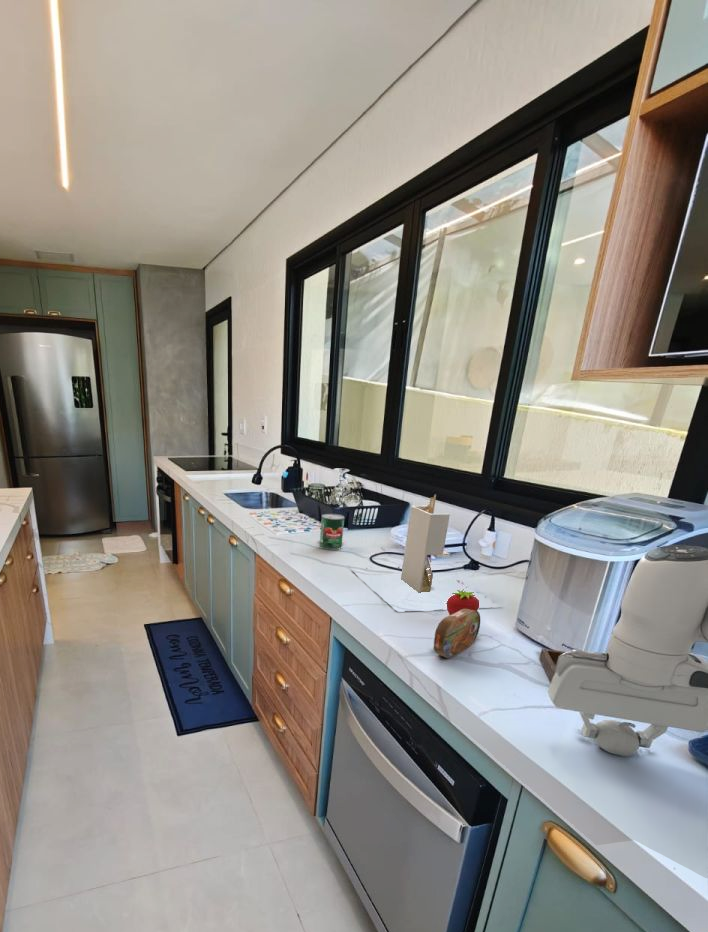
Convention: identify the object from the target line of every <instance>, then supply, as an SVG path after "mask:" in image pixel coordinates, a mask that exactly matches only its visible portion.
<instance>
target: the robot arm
mask: <svg viewBox="0 0 708 932" xmlns="http://www.w3.org/2000/svg"><path fill="white" fill-rule="evenodd" d="M620 603H621V604H620V610H621V613H620V616H619V619H618V621H617V623H616V624H615V625H614V626H613V628H612V630H611V634H610V636H609V639H608V640H609V641H608V643H607V647H606V650H605V652H596V651H584V650H582V649H571V650H570V651H564V652H565V653H563V654H562V655H560V656H559V657H558V660H557V664H556V668H555V669H556V673H555V675H554V677H553V679H552V681H551V683H550V684H549V686H548V689H547V694H548V698H549V700H550V702H551V703H552V704H553V705H554V707H555V708H557V709H560V710H565V711H566V710H568V711H573V712H578V713H579V715H580V717H581V721H582V722H583V723H582V727H581V734H582V737H583V738H588V739H593V740H594V739H595V738H596V734H597V733H598V729H597V727H596V725H595V724H596V723H593V722H591V721H590V720H594V719H595V715H597V716H602V717H608V718H614V719H620V720H627V721H631V722H632V721H633V722H638V723H644V724H649V726H648V727H647V728H645V729H644V730H643V731H640V730H636V731H635V732H636V733H637V735H638V740H639V748H645V749H650V748H651V745H652V743H653V741H655V740H656V739H657V738H659V737H660V736H662V735H663V734H665V733H666V732H667V731H668V728H675V729H679V730H686V731H691V732H692V731H693V732H697V733H705V732H707V731H708V660H706V659H705V658H704V657H702V656H700V655H698V654H696V653H693V652H691V651H692V648H693V646H694V645H695V644H696V643H707V644H708V548H706V547H702V546H697V545H686V544H670V545H662V546H657V547H655V548H652V549H649V550H648V551H647V552H646V553H644V554H643V555H642V557H641V558H639V560H638V562H637V564H636V566H635V567H634V569H633V571H632V574H631V576H630V578H629V580H628V583H627V586H626V587H625V591H624V593H623V597H622V600H621V602H620ZM569 654H571V655H569Z"/></svg>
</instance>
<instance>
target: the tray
mask: <svg viewBox="0 0 708 932" xmlns="http://www.w3.org/2000/svg"><path fill="white" fill-rule="evenodd" d="M565 652H566V651H563V650H557V649H556V650H555V649H549V648H544V647H543V648H542V647H541V651H540V655H539V657H538V660H539V659H540V660H539V662H540V661H541V662H540V664H541V663H542V664H541V666H542V668H543V670H544V672H545V674H546V677H547V678H548V680H549V683H550V684H551V681H552V679H553V677H554V675H555V673H556V669H555V668H556V664H557V660H558V657H559V656H560V655H562V654H563V653H565ZM569 655H571V654H569Z"/></svg>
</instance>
